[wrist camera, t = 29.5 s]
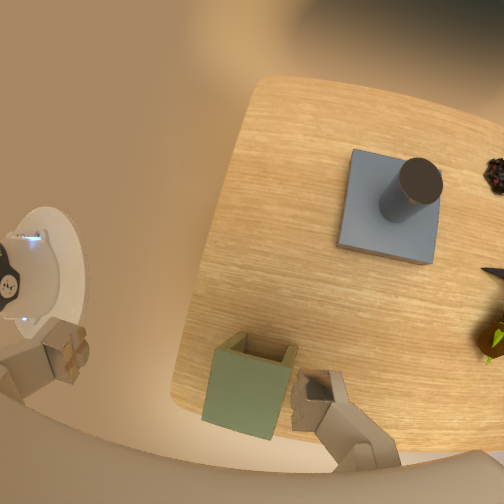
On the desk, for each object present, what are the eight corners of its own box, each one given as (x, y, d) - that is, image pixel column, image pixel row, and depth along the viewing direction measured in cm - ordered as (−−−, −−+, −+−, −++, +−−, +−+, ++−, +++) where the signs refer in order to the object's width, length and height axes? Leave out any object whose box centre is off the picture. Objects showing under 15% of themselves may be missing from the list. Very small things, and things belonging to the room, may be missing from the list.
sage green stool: (226, 390, 40) (201, 420, 30) (239, 331, 40) (215, 348, 30) (281, 405, 38) (270, 440, 28) (298, 346, 38) (291, 368, 29)
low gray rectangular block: (336, 247, 38) (338, 243, 34) (350, 160, 39) (353, 148, 35) (422, 265, 36) (432, 264, 32) (431, 179, 36) (441, 170, 32)
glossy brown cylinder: (376, 219, 34) (396, 198, 24) (380, 183, 34) (401, 152, 24) (410, 226, 33) (441, 209, 23) (414, 191, 33) (443, 164, 23)
